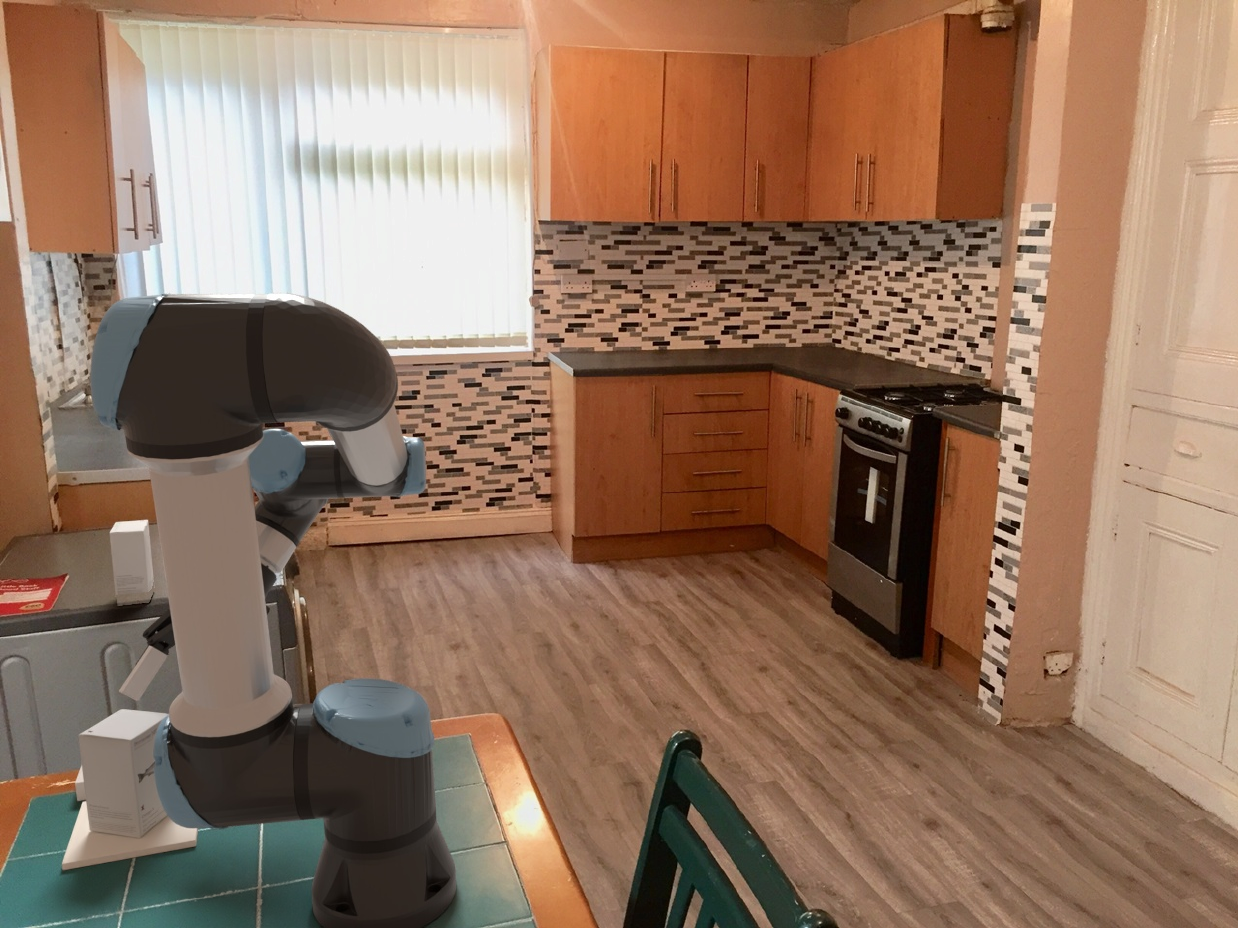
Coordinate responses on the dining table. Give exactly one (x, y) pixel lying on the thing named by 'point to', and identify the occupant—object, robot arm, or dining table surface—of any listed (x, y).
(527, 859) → the dining table surface
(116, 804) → the supplement box
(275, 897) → the dining table surface
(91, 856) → the cream coaster
